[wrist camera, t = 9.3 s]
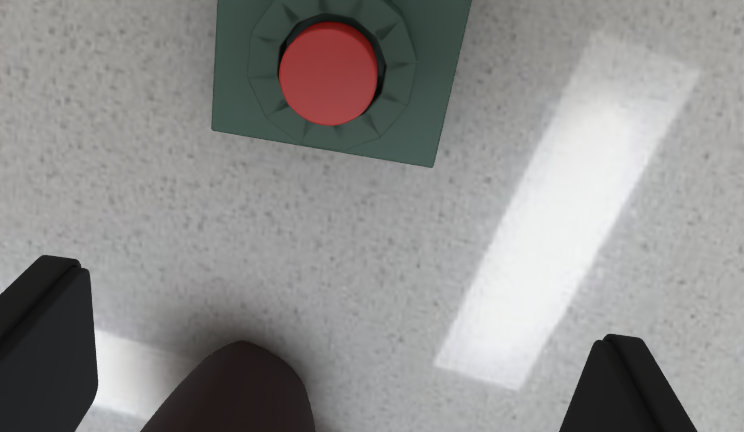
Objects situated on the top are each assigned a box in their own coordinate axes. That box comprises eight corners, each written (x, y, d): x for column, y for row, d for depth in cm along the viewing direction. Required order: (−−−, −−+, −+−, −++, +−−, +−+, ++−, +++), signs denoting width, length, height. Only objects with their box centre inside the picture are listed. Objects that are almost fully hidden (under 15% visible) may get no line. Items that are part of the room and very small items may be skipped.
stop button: (282, 104, 24) (274, 117, 23) (291, 13, 23) (284, 20, 21) (369, 119, 24) (367, 133, 23) (385, 29, 23) (384, 38, 21)
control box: (223, 116, 28) (198, 144, 25) (234, -69, 25) (207, -66, 21) (430, 151, 29) (435, 184, 25) (470, -25, 25) (482, -15, 22)
